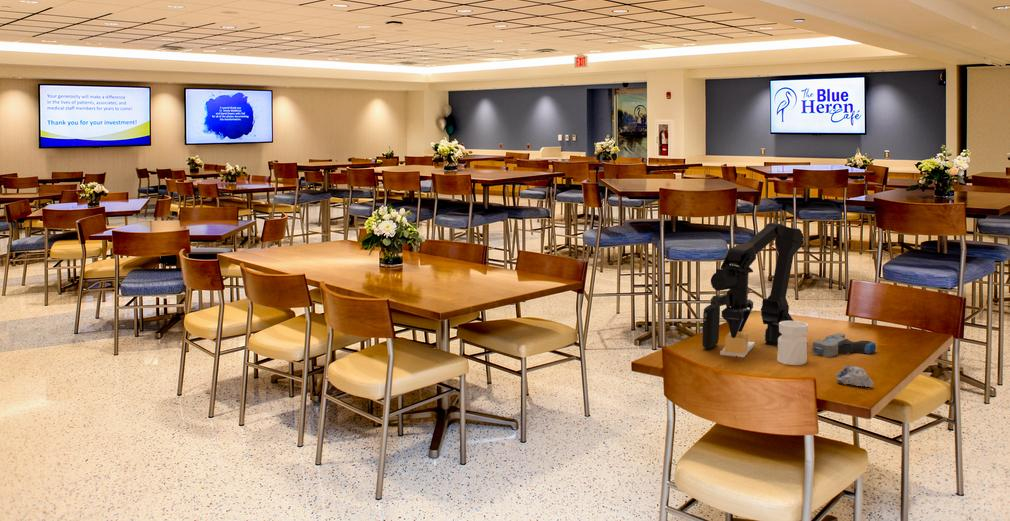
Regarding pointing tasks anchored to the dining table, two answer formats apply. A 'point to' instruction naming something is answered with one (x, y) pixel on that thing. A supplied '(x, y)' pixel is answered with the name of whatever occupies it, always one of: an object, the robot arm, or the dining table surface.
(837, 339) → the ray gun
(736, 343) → the tan block
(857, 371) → the mineral specimen
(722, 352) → the plate
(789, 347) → the white plastic jar
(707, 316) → the carrying case or bag
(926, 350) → the dining table surface
